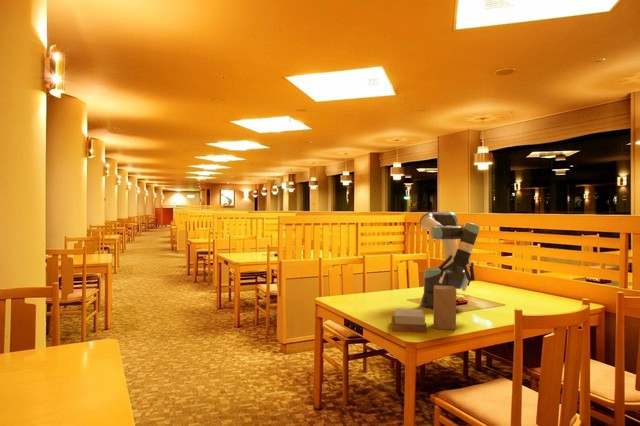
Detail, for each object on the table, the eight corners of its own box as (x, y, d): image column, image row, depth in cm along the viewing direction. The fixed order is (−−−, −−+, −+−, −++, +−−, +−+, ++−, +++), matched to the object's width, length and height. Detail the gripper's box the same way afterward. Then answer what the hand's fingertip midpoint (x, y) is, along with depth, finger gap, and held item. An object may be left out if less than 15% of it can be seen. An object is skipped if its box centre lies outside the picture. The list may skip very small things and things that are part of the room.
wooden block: (456, 330, 198) (456, 289, 198) (434, 329, 200) (435, 288, 200) (453, 324, 207) (453, 285, 207) (433, 323, 209) (433, 284, 209)
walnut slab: (391, 323, 212) (391, 315, 212) (423, 324, 209) (423, 316, 209) (392, 332, 196) (392, 324, 196) (426, 334, 193) (426, 325, 193)
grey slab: (394, 316, 210) (394, 308, 210) (422, 317, 208) (422, 309, 208) (395, 323, 196) (395, 315, 196) (424, 325, 194) (424, 316, 194)
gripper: (444, 243, 219) (432, 280, 219) (488, 258, 219) (475, 295, 219) (440, 242, 227) (428, 278, 227) (483, 256, 226) (470, 292, 227)
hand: (451, 286), depth 223 cm, fingers open, 13 cm apart
